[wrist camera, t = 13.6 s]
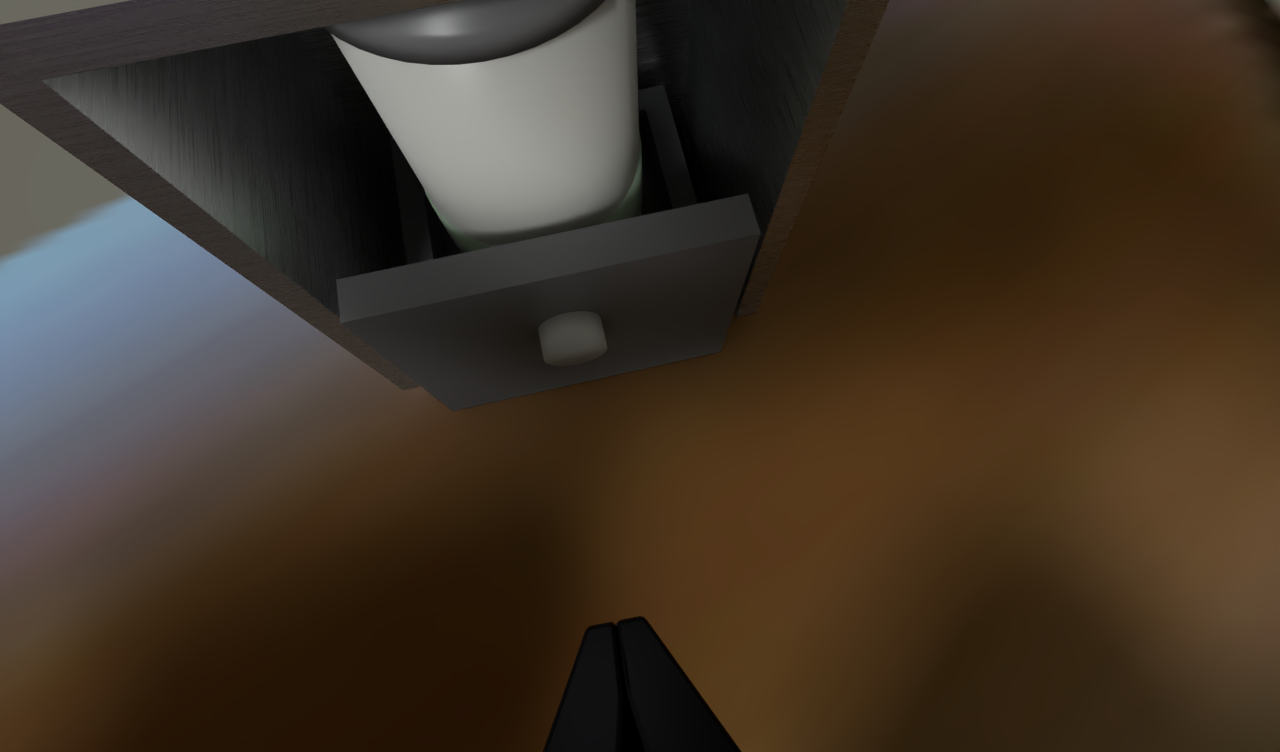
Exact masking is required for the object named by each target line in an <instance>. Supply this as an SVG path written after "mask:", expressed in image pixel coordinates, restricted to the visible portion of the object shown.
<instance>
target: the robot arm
mask: <svg viewBox="0 0 1280 752" xmlns="http://www.w3.org/2000/svg"><path fill="white" fill-rule="evenodd" d="M616 627H617V628H616ZM543 752H741V750H740V749H739V747H738V746H737V745H736V743H735V742H734V741H733V739H732V738H731V736H730V735H729V734H728V732H727V731H726V729H725V728H724V727H723V725H722V724H721V722H720V721H719V720H718V718H717V717H716V715H715V714H714V713H713V711H712V710H711V708H710V707H709V706H708V704H707V703H706V702H705V700H704V699H703V697H702V696H701V695H700V693H699V692H698V690H697V689H696V688H695V686H694V685H693V683H692V682H691V681H690V679H689V678H688V676H687V675H686V674H685V672H684V671H683V670H682V668H681V667H680V665H679V664H678V663H677V661H676V660H675V658H674V657H673V656H672V654H671V653H670V651H669V650H668V649H667V647H666V646H665V644H664V643H663V642H662V640H661V639H660V637H659V636H658V635H657V633H656V632H655V631H654V629H653V628H652V626H651V625H650V624H649V622H648V621H647V620H646V619H645V618H644V617H642V616H638V617H633V618H628V619H623V620H620V621H618V622H617V626H616V625H615V624H614V623H613V622H608V623H603V624H597V625H592V626H589V627H588V628H587V629H586V631H585V633H584V636H583V639H582V642H581V645H580V648H579V650H578V653H577V656H576V659H575V662H574V665H573V667H572V670H571V673H570V676H569V679H568V682H567V684H566V687H565V690H564V693H563V696H562V699H561V702H560V704H559V707H558V710H557V713H556V716H555V719H554V721H553V724H552V727H551V730H550V733H549V736H548V738H547V741H546V744H545V747H544V750H543Z"/></svg>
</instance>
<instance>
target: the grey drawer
mask: <svg viewBox="0 0 1280 752" xmlns="http://www.w3.org/2000/svg"><path fill="white" fill-rule="evenodd" d="M638 112H639V132H640V139H641V153H642V204H641V216H638V217H633V218H628V219H624V220H619V221H614V222H609V223H605V224H600V225H595V226H590V227H585V228H581V229H576V230H571V231H566V232H562V233H557V234H552V235H547V236H543V237H538V238H533V239H528V240H523V241H519V242H514V243H509V244H504V245H500V246H495V247H490V248H485V249H480V250H476V251H471V252H466V253H462V252H461V251H460V250H459V248H458V247H457V246H456V244H455V243H454V241H453V239H452V238H451V236H450V235H449V233H448V231H447V230H446V228H445V226H444V225H443V223H442V221H441V220H440V218H439V216H438V215H437V213H436V212H435V210H434V208H433V207H432V205H431V203H430V201H429V199H428V197H427V196H426V193H425V190H424V188H423V186H422V184H421V183H420V181H419V179H418V178H417V176H416V174H415V173H414V171H413V169H412V168H411V166H410V164H409V163H408V161H407V159H406V158H405V156H404V154H403V153H402V151H401V149H400V148H399V146H398V144H397V143H396V141H395V140H394V139H390V142H391V150H392V157H393V164H394V171H395V178H396V186H397V193H398V200H399V207H400V214H401V222H402V229H403V236H404V243H405V250H406V258H407V265H404V266H399V267H395V268H390V269H385V270H380V271H375V272H371V273H366V274H361V275H356V276H352V277H347V278H342V279H337V280H336V284H337V293H338V303H339V313H340V322H341V324H342V325H344V326H345V327H346V328H348V329H349V330H350V331H351V332H353V333H354V334H355V335H357V336H358V337H359V338H360V339H362V340H363V341H364V342H365V343H367V344H368V345H369V346H371V347H372V348H373V349H374V350H376V351H377V352H378V353H379V354H381V355H382V356H383V357H385V358H386V359H387V360H388V361H390V362H391V363H392V364H393V365H395V366H396V367H397V368H399V369H400V370H401V371H402V372H404V373H405V374H406V375H407V376H409V377H410V378H411V379H413V380H414V381H415V382H416V383H418V384H419V385H420V386H421V387H423V388H424V389H425V390H427V391H428V392H429V393H430V394H432V395H433V396H434V397H435V398H437V399H438V400H439V401H441V402H442V403H443V404H444V405H446V406H447V407H448V408H449V409H451V410H452V411H455V410H460V409H464V408H469V407H473V406H478V405H482V404H487V403H491V402H496V401H500V400H505V399H509V398H514V397H518V396H523V395H527V394H532V393H536V392H541V391H545V390H550V389H554V388H559V387H563V386H568V385H572V384H577V383H581V382H586V381H590V380H595V379H599V378H604V377H609V376H613V375H618V374H622V373H627V372H631V371H636V370H640V369H645V368H649V367H654V366H658V365H663V364H667V363H672V362H676V361H681V360H685V359H690V358H694V357H699V356H703V355H708V354H712V353H717V352H721V349H722V346H723V343H724V340H725V337H726V334H727V331H728V328H729V326H730V323H731V320H732V317H733V314H734V311H735V308H736V305H737V302H738V299H739V296H740V293H741V290H742V287H743V284H744V281H745V278H746V276H747V273H748V270H749V267H750V264H751V261H752V258H753V255H754V252H755V249H756V246H757V243H758V240H759V237H760V234H761V233H760V229H759V226H758V223H757V220H756V217H755V213H754V210H753V207H752V204H751V201H750V197H749V194H743V195H738V196H733V197H729V198H724V199H719V200H714V201H710V202H705V203H700V204H698V203H697V199H696V196H695V192H694V189H693V185H692V182H691V178H690V175H689V171H688V168H687V164H686V161H685V157H684V154H683V151H682V147H681V144H680V140H679V137H678V133H677V130H676V126H675V123H674V119H673V116H672V112H671V109H670V105H669V102H668V98H667V95H666V91H665V88H664V85H661V86H656V87H651V88H646V89H641V90H638Z"/></svg>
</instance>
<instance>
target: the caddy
mask: <svg viewBox="0 0 1280 752" xmlns="http://www.w3.org/2000/svg"><path fill="white" fill-rule="evenodd" d="M456 1H462V0H0V104H2V105H3V106H5V107H6V108H7V109H9V110H10V111H11V112H13V113H15V114H16V115H17V116H19V117H20V118H21V119H23V120H24V121H26V122H27V123H28V124H30V125H31V126H33V127H34V128H36V129H37V130H38V131H40V132H41V133H43V134H44V135H45V136H47V137H48V138H50V139H51V140H52V141H54V142H55V143H57V144H58V145H59V146H61V147H62V148H63V149H65V150H66V151H68V152H69V153H71V154H72V155H73V156H75V157H76V158H78V159H80V161H82V162H83V163H85V164H86V165H87V166H89V167H90V168H92V169H93V170H94V171H96V172H97V173H99V174H100V175H101V176H103V177H104V178H106V179H107V180H108V181H110V182H111V183H113V184H114V185H116V186H117V187H118V188H120V189H121V190H123V191H124V192H125V193H127V194H128V195H130V196H131V197H132V198H134V199H135V200H137V201H138V202H139V203H141V204H142V205H144V206H145V207H146V208H148V209H149V210H151V211H152V212H153V213H155V214H156V215H158V216H159V217H160V218H162V219H163V220H165V221H166V222H168V223H169V224H170V225H172V226H173V227H175V228H176V229H177V230H179V231H180V232H182V233H183V234H184V235H186V236H187V237H189V238H190V239H191V240H193V241H194V242H196V243H197V244H198V245H200V246H201V247H203V248H204V249H205V250H207V251H208V252H210V253H211V254H212V255H214V256H215V257H217V258H218V259H220V260H221V261H222V262H224V263H225V264H227V265H228V266H229V267H231V268H232V269H234V270H235V271H236V272H238V273H239V274H241V275H242V276H243V277H245V278H246V279H248V280H249V281H250V282H252V283H253V284H255V285H256V286H257V287H259V288H260V289H262V290H263V291H264V292H266V293H267V294H269V295H270V296H272V297H273V298H274V299H276V300H277V301H279V302H280V303H281V304H283V305H284V306H286V307H287V308H288V309H290V310H291V311H293V312H294V313H295V314H297V315H298V316H300V317H301V318H302V319H304V320H305V321H307V322H308V323H309V324H311V325H312V326H314V327H315V328H317V329H318V330H319V331H321V332H322V333H324V334H325V335H326V336H328V337H329V338H331V339H332V340H333V341H335V342H336V343H338V344H339V345H340V346H342V347H343V348H345V349H346V350H347V351H349V352H350V353H352V354H353V355H354V356H356V357H357V358H359V359H360V360H361V361H363V362H364V363H366V364H367V365H369V366H370V367H371V368H373V369H374V370H376V371H377V372H378V373H380V374H381V375H383V376H384V377H385V378H387V379H388V380H390V381H391V382H392V383H394V384H395V385H397V386H398V387H399V388H401V389H402V390H405V389H409V388H414V387H418V386H420V385H419V384H418V383H416V382H415V381H414V380H413V379H411V378H410V377H409V376H407V375H406V374H405V373H404V372H402V371H401V370H400V369H399V368H397V367H396V366H395V365H393V364H392V363H391V362H390V361H388V360H387V359H386V358H385V357H383V356H382V355H381V354H379V353H378V352H377V351H376V350H374V349H373V348H372V347H371V346H369V345H368V344H367V343H365V342H364V341H363V340H362V339H360V338H359V337H358V336H357V335H355V334H354V333H353V332H351V331H350V330H349V329H348V328H346V327H345V326H344V325H342V324H341V322H340V313H339V303H338V293H337V284H336V280H337V279H342V278H347V277H352V276H356V275H361V274H366V273H371V272H375V271H380V270H385V269H390V268H395V267H399V266H404V265H407V262H406V255H405V247H404V240H403V233H402V226H401V218H400V211H399V204H398V197H397V190H396V182H395V181H396V178H395V171H394V164H393V157H392V150H391V142H390V139H394V138H393V136H392V135H391V133H390V131H389V130H388V128H387V126H386V125H385V123H384V121H383V120H382V118H381V116H380V115H379V113H378V111H377V110H376V108H375V106H374V105H373V103H372V101H371V100H370V98H369V96H368V95H367V93H366V91H365V90H364V88H363V86H362V85H361V83H360V81H359V80H358V78H357V76H356V75H355V73H354V71H353V70H352V68H351V66H350V65H349V63H348V61H347V60H346V58H345V56H344V55H343V53H342V51H341V50H340V48H339V46H338V45H337V43H336V41H335V40H334V38H333V36H332V35H331V33H330V32H328V31H327V30H325V29H324V28H322V27H324V26H330V25H335V24H340V23H345V22H351V21H356V20H361V19H367V18H372V17H377V16H382V15H388V14H393V13H398V12H404V11H409V10H414V9H419V8H425V7H430V6H435V5H440V4H446V3H451V2H456ZM888 3H889V0H636V36H637V74H638V90H641V89H646V88H651V87H656V86H661V85H664V88H665V91H666V95H667V98H668V102H669V105H670V109H671V112H672V116H673V119H674V123H675V124H681V127H682V131H683V134H684V138H685V141H686V145H687V148H688V152H689V155H690V159H691V162H692V165H693V169H694V172H695V176H696V179H697V183H698V186H699V190H700V193H701V197H702V200H703V203H705V202H710V201H714V200H719V199H724V198H729V197H733V196H738V195H743V194H749V197H750V201H751V204H752V207H753V210H754V213H755V217H756V220H757V223H758V226H759V229H760V233H761V234H760V237H759V240H758V243H757V246H756V249H755V252H754V255H753V258H752V261H751V264H750V267H749V270H748V273H747V276H746V278H745V281H744V284H743V287H742V290H741V293H740V296H739V299H738V302H737V305H736V308H735V314H736V317H738V316H742V315H747V314H751V313H756V311H757V309H758V307H759V304H760V302H761V300H762V297H763V295H764V293H765V290H766V288H767V286H768V283H769V281H770V279H771V276H772V274H773V272H774V269H775V267H776V265H777V262H778V260H779V258H780V255H781V253H782V251H783V248H784V246H785V244H786V241H787V239H788V236H789V234H790V232H791V229H792V227H793V225H794V222H795V220H796V218H797V215H798V213H799V211H800V208H801V206H802V204H803V201H804V199H805V197H806V194H807V192H808V190H809V187H810V185H811V183H812V180H813V178H814V176H815V173H816V171H817V169H818V166H819V164H820V162H821V159H822V157H823V155H824V152H825V150H826V148H827V145H828V143H829V141H830V138H831V136H832V134H833V131H834V129H835V127H836V124H837V122H838V120H839V117H840V115H841V113H842V110H843V108H844V105H845V103H846V101H847V98H848V96H849V94H850V91H851V89H852V87H853V84H854V82H855V80H856V77H857V75H858V73H859V70H860V68H861V66H862V63H863V61H864V59H865V56H866V54H867V52H868V49H869V47H870V45H871V42H872V40H873V38H874V35H875V33H876V31H877V28H878V26H879V24H880V21H881V19H882V17H883V14H884V12H885V10H886V7H887V5H888Z"/></svg>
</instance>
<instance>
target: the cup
mask: <svg viewBox="0 0 1280 752" xmlns="http://www.w3.org/2000/svg"><path fill="white" fill-rule="evenodd" d="M322 28H324V29H325V30H327V31H328V32H330V33H331V35H332V36H333V38H334V40H335V41H336V43H337V45H338V46H339V48H340V50H341V51H342V53H343V55H344V56H345V58H346V60H347V61H348V63H349V65H350V66H351V68H352V70H353V71H354V73H355V75H356V76H357V78H358V80H359V81H360V83H361V85H362V86H363V88H364V90H365V91H366V93H367V95H368V96H369V98H370V100H371V101H372V103H373V105H374V106H375V108H376V110H377V111H378V113H379V115H380V116H381V118H382V120H383V121H384V123H385V125H386V126H387V128H388V130H389V131H390V133H391V135H392V136H393V138H394V140H395V141H396V143H397V144H398V146H399V148H400V149H401V151H402V153H403V154H404V156H405V158H406V159H407V161H408V163H409V164H410V166H411V168H412V169H413V171H414V173H415V174H416V176H417V178H418V179H419V181H420V183H421V184H422V186H423V188H424V190H425V193H426V196H427V197H428V199H429V201H430V203H431V205H432V207H433V208H434V210H435V212H436V213H437V215H438V216H439V218H440V220H441V221H442V223H443V225H444V226H445V228H446V230H447V231H448V233H449V235H450V236H451V238H452V239H453V241H454V243H455V244H456V246H457V247H458V248H459V250H460V251H461V252H462V253H466V252H471V251H476V250H480V249H485V248H490V247H495V246H500V245H504V244H509V243H514V242H519V241H523V240H528V239H533V238H538V237H543V236H547V235H552V234H557V233H562V232H566V231H571V230H576V229H581V228H585V227H590V226H595V225H600V224H605V223H609V222H614V221H619V220H624V219H628V218H633V217H638V216H641V204H642V153H641V139H640V132H639V112H638V74H637V36H636V0H462V1H456V2H451V3H446V4H440V5H435V6H430V7H425V8H419V9H414V10H409V11H404V12H398V13H393V14H388V15H382V16H377V17H372V18H367V19H361V20H356V21H351V22H345V23H340V24H335V25H330V26H324V27H322Z"/></svg>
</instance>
